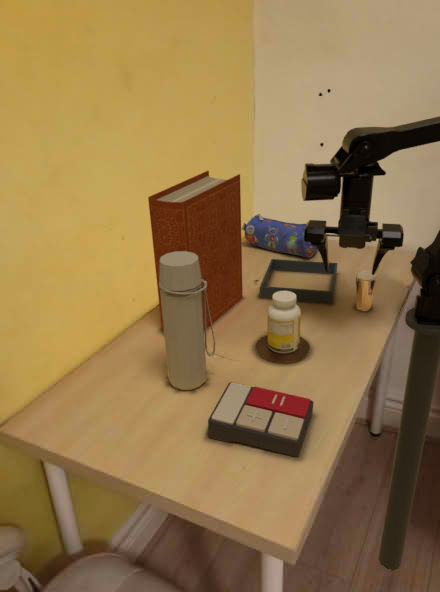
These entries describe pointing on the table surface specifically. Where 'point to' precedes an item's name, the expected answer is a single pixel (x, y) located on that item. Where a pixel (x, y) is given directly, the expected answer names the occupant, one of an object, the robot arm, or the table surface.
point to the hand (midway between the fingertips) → (349, 272)
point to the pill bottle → (284, 323)
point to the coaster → (282, 358)
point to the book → (202, 235)
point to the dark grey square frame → (299, 267)
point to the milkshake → (365, 289)
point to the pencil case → (278, 236)
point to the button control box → (261, 418)
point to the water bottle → (184, 319)
